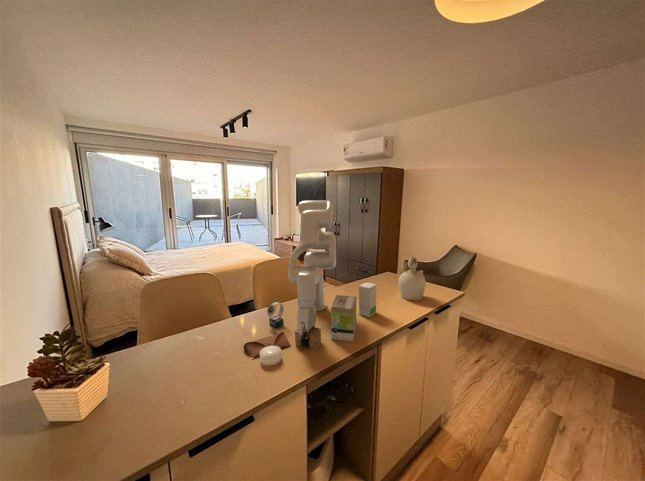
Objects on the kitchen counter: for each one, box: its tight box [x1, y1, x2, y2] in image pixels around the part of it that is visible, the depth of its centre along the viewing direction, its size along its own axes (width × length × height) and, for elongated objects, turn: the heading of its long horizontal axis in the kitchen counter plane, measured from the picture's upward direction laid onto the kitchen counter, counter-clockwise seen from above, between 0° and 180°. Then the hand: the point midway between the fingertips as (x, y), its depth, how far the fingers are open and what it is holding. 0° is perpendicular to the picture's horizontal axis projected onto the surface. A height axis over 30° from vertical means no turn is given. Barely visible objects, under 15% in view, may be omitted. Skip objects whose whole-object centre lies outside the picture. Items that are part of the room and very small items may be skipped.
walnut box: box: [294, 326, 322, 350], centre depth 109 cm, size 9×6×6 cm
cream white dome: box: [259, 346, 283, 366], centre depth 98 cm, size 8×8×4 cm
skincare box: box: [358, 282, 377, 318], centre depth 135 cm, size 8×7×16 cm
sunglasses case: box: [243, 331, 292, 359], centre depth 107 cm, size 18×7×7 cm
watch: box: [266, 301, 285, 329], centre depth 125 cm, size 6×8×11 cm
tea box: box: [330, 294, 358, 342], centre depth 117 cm, size 15×10×15 cm
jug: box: [398, 256, 427, 302], centre depth 156 cm, size 15×16×25 cm
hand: (308, 341), depth 109 cm, fingers closed on walnut box, 6 cm apart
